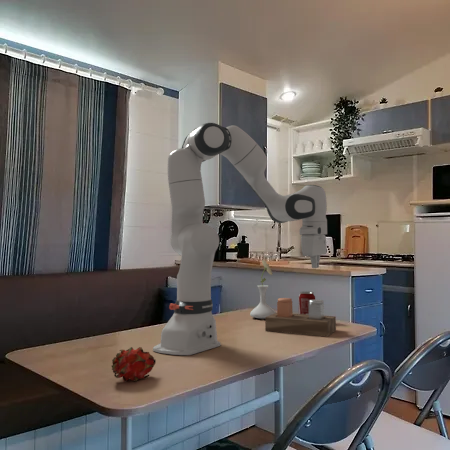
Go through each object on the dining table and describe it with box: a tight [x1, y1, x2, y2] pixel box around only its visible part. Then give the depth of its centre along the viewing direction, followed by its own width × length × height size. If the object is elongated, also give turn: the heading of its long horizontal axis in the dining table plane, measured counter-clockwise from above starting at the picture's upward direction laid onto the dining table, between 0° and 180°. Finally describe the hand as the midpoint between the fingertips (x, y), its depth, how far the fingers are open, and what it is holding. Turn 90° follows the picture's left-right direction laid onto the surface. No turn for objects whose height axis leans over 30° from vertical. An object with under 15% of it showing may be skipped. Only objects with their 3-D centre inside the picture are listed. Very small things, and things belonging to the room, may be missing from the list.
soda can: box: [297, 290, 316, 315], centre depth 181 cm, size 7×7×12 cm
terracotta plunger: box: [276, 297, 294, 318], centre depth 167 cm, size 5×5×7 cm
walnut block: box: [264, 312, 337, 337], centre depth 164 cm, size 12×23×5 cm, turn 63°
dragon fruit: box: [111, 346, 157, 382], centre depth 109 cm, size 8×8×12 cm
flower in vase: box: [249, 259, 277, 320], centre depth 193 cm, size 13×11×25 cm
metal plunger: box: [309, 299, 325, 320], centre depth 161 cm, size 5×5×7 cm
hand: (315, 267), depth 162 cm, fingers closed
